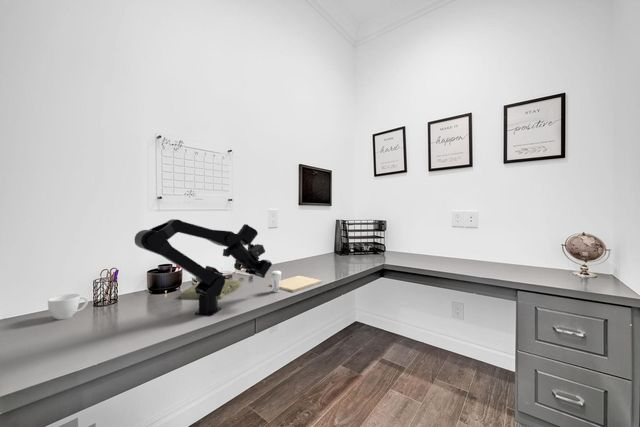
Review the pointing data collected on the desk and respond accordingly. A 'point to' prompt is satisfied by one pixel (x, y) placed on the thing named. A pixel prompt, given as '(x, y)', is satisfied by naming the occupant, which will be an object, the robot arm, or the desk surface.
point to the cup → (65, 305)
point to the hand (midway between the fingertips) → (264, 276)
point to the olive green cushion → (227, 288)
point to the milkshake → (275, 280)
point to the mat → (297, 283)
